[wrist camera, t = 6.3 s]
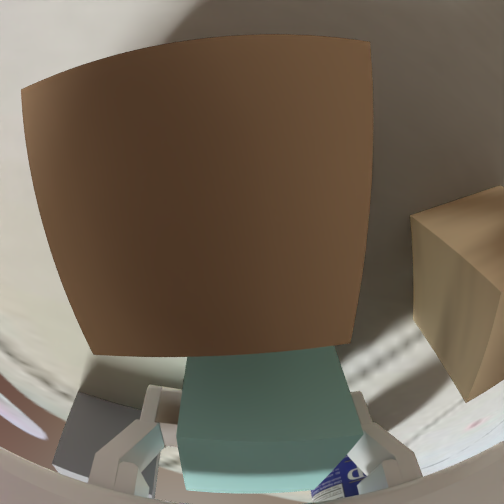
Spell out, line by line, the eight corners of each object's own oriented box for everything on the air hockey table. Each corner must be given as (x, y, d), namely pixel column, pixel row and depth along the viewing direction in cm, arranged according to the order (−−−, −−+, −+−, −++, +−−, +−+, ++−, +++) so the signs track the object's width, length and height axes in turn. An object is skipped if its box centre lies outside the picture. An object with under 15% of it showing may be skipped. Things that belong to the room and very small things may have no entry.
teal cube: (326, 324, 11) (363, 433, 7) (297, 399, 13) (313, 489, 9) (194, 316, 11) (176, 436, 6) (194, 395, 13) (186, 490, 8)
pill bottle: (395, 421, 16) (433, 531, 8) (349, 457, 18) (372, 553, 10) (332, 418, 15) (364, 556, 7) (289, 455, 17) (304, 569, 9)
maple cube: (498, 184, 9) (585, 234, 5) (491, 281, 11) (551, 342, 7) (408, 214, 10) (501, 292, 5) (412, 318, 12) (465, 403, 7)
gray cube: (163, 413, 14) (152, 494, 10) (160, 448, 16) (153, 512, 12) (78, 390, 13) (52, 463, 9) (90, 429, 15) (73, 490, 11)
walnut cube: (298, 76, 7) (369, 42, 3) (301, 235, 10) (349, 343, 5) (127, 93, 7) (20, 89, 3) (149, 246, 10) (93, 354, 5)
